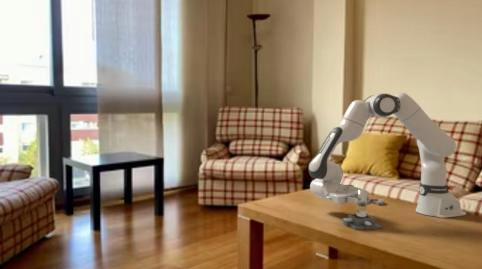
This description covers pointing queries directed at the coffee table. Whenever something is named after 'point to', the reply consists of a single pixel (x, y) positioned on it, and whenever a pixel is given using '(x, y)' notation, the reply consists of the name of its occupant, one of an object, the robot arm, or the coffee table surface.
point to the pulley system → (379, 201)
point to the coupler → (362, 204)
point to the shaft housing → (361, 222)
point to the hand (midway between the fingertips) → (363, 200)
